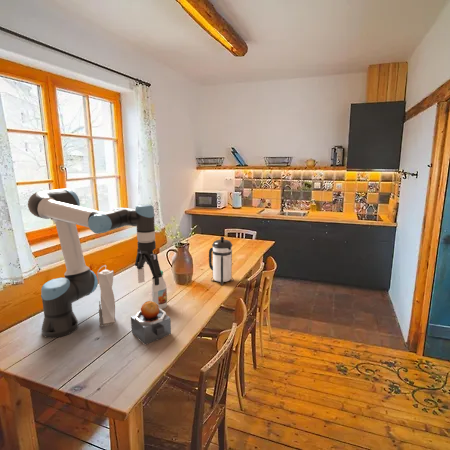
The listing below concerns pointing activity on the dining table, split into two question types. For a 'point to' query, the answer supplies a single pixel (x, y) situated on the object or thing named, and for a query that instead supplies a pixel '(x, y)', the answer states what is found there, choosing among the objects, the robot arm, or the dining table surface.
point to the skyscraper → (106, 297)
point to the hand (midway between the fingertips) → (148, 286)
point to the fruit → (150, 310)
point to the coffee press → (221, 260)
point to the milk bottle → (160, 293)
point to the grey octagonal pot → (151, 326)
